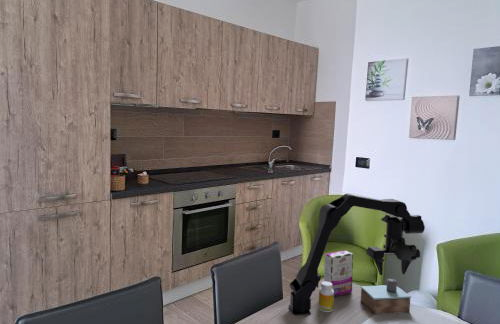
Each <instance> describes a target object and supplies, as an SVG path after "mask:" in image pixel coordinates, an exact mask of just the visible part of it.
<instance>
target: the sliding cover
mask: <svg viewBox="0 0 500 324" xmlns="http://www.w3.org/2000/svg"><path fill="white" fill-rule="evenodd" d="M360 289H363V290H364V291H365V292H366V293H367V294H368V295H369V296H370V297H371V298H373V299H374V300H382V299H401V298H410V299H411V298H412V295H410V294H408V293H407V292H405V291H404V290H403V289H402V288H400V287H399V286H398V281H397V280H396V279H394V278H386V285H385V284H384V285H381V284H380V285H362V286H360Z"/></svg>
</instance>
